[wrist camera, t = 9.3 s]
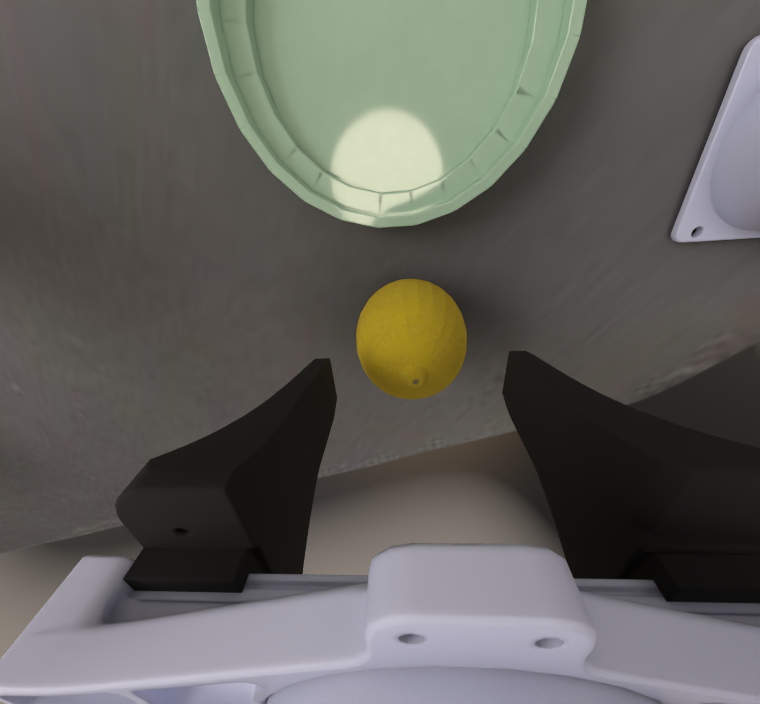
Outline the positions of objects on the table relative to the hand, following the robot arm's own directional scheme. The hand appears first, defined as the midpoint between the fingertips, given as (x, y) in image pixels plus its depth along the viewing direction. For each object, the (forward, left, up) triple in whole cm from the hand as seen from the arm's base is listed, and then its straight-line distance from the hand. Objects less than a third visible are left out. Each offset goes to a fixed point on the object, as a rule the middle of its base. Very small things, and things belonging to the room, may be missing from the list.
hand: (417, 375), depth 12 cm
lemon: (0, 0, -8) cm, 8 cm away
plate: (+1, -12, -8) cm, 14 cm away
